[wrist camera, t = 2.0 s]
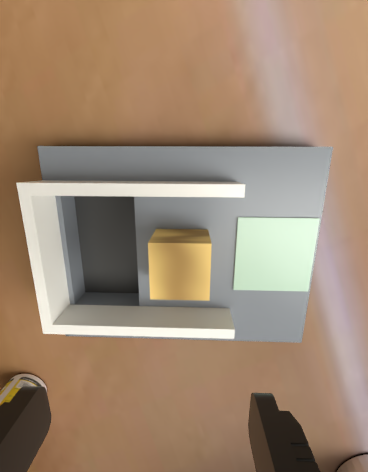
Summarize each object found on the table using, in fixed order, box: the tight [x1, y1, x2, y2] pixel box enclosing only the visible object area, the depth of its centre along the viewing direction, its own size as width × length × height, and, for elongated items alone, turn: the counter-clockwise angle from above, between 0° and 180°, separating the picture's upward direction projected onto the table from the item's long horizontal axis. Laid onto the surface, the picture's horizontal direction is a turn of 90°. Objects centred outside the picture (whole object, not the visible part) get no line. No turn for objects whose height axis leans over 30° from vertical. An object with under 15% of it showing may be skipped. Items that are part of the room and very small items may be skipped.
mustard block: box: [148, 229, 212, 301], centre depth 22 cm, size 5×5×4 cm
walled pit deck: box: [16, 146, 333, 343], centre depth 24 cm, size 26×20×6 cm
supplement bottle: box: [0, 374, 47, 405], centre depth 29 cm, size 5×5×10 cm
